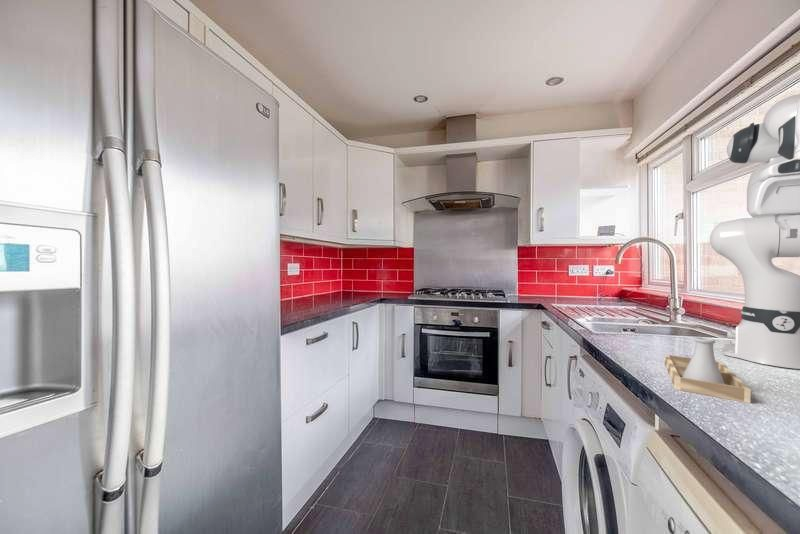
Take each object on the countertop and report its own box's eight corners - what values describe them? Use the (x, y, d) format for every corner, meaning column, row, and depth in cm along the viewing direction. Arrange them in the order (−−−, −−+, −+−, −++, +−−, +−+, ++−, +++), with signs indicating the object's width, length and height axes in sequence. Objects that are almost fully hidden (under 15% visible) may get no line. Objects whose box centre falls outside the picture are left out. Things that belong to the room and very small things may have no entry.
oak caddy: (664, 364, 82) (664, 354, 82) (722, 372, 76) (722, 362, 75) (675, 389, 65) (675, 377, 65) (750, 403, 59) (750, 389, 59)
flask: (737, 395, 62) (739, 344, 62) (691, 390, 64) (693, 341, 64) (713, 382, 69) (714, 336, 68) (672, 378, 71) (674, 333, 71)
